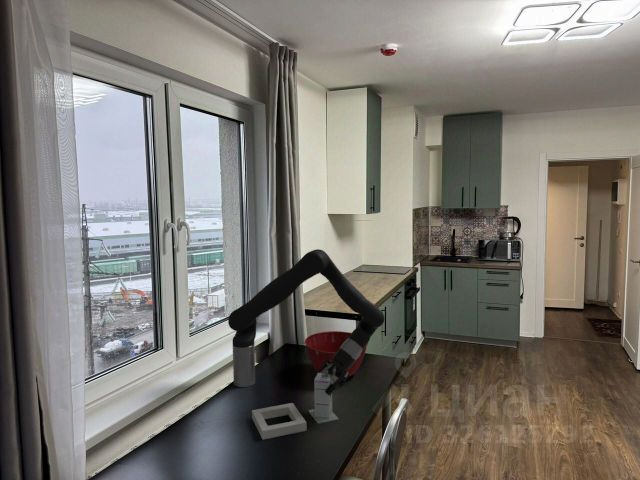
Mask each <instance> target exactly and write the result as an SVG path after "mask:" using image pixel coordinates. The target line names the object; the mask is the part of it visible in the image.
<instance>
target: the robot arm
mask: <svg viewBox="0 0 640 480" xmlns="http://www.w3.org/2000/svg"><path fill="white" fill-rule="evenodd" d="M319 274H320V275H321V276H322V277H324V278H326V280H327V281H328V282H329V283H330V284H331V286H333V289H334V290H335V291H336V293H337V295H338V297H339V298H340V299H341V300H342V301H343V303H345V305H347V307H349V309H350V310H352V311H353V312H354V313H357V314H358V315H359V316H360V317H361V318H362V319H361V320H360V321H359V323H358V324H357V326H356V327H355V329H353V331H352V332H350V333H351V335H350V336H349V337H348V339H347V340H346V341H345V342H344V343H343V344H342V345H341V347H340V348H339V349H338V351H337V352H336V353H335V355H334V356H333V358H334V360H333V361H332V362H331V361H330V360H329V359H327V360H326V361H325V362H324V364H323V365H322V366H321V367H320V369H319V370H318V371H319V373H328V374H330V375H332V378H333V379H332V384H330V385H329V387H328V388H327V389H326V391H325V393H326V394H328V395H330V394H331V393H332V394H333V392H334V391H335V389H336V388H340V389H342V387H343V386H344V384H345V383H346V382H347V380H348V379H349V377H351V376H350V374H349V373H348V372H347V371H346V369H348V370H349V369H350V368H351V366H352V365H353V363H354V362H355V361H356V359H357V358H358V357H359V355H360V354H361V352H362V350H363V349H364V347H365V346H366V345H367V343H368V344H369V342H370V340H371V337H372V336H373V335H374V333H375V332H376V331H377V329H379V328H380V327H381V326H383V324H384V323H385V315H384V313H383V312H382V310H381V309H380V308H379V307H378V306H376V305H375V304H374V303H372V302H371V301H370V300H369V299H367V298H366V297H365V296H364V295H363V294H362V292H361V291H360V290H358V288H356V287H355V286H354V285H353V284H352V283H351V282H350V281H349V280H348V278H347V277H346V276H345V275H344V274H343V272H342V271H341V270H340V269H339V268H338V267H337V266H336V264H335V263H334V261H333V260H332V258H331V257H330V256H329V255H328V253H327V252H325V250H323V249H320V248H319V249H313V250H310V251H308V252H307V253H305V254H304V255H303V256H302V257H300V259H299V260H298V261H297V262H296V263H295V264H294V265H293V266H292V267H291V268H289V269H288V270H286V271H285V272H283V273H282V274H280V275H278V276H277V277H276V278H274V279H272V281H270V282H269V283H268V284H267V285H264V287H263V288H262V289H261V290H259V291H258V292H257V293H256V294H255V295H254V296H253V297H252V298H251V299H250V300H249V301H247V302H246V303H244V304H242V305H241V306H239V307H238V308H236V309H234V310H233V311H231V313H230V314H229V315H228V320H227V323H228V326H229V328H230V329H232V331H235V334H234V335H233V338H232V340H231V341H232V369H233V370H232V372H233V373H232V374H233V377H232V378H233V385H234V386H235V387H238V388H246V387H247V388H249V387H251V386H253V385H255V384H256V361H255V360H256V357H255V356H256V355H255V353H256V352H255V347H256V346H255V339H256V337H257V336H256V335H257V318H258V317H260V316H261V315H263V314H264V313H266V312H269V311H270V310H272V309H273V308H275V307H277V306H279V305H280V304H281V303H282V302H284V301H285V300H287V299H288V298H289V297H290V296H291V295H293V294H294V292H295V291H296V290H297V289H298V287H300V285H302V284H303V283H305V282H306V281H308V280H309V279H311V278H313V277H314V276H316V275H319ZM367 346H368V345H367ZM323 368H324V370H323V371H322V369H323Z"/></svg>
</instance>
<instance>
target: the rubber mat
mask: <svg viewBox="0 0 640 480" xmlns="http://www.w3.org/2000/svg"><path fill="white" fill-rule="evenodd" d="M307 411H308V413H309V414H310V415H311V417H312V418H313V419H314V421H315V422H316V424H317V425H319V424H324V423H329V422H333V421H339V420H340V419H339V417H338V416H337V415H336V414H335V412H333V411H332V413H331V416H330V418H322V417H315V408H313V409H308V410H307Z"/></svg>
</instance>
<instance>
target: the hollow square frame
mask: <svg viewBox="0 0 640 480" xmlns="http://www.w3.org/2000/svg"><path fill="white" fill-rule="evenodd" d="M284 416H288V417H289V418H290V420H291V421H289V422H288V421H287V422H283V423H282V422H281V423H277V424H276V423H275V424H272V425H271V424H270V425H268V424H267V422H266V420H267V419H274V418H277V417H284ZM251 419H252V421H253V423H254V424H255V427H256V429H257V431H258V433H259V435H260V437H261V439H262V441H264V440H269V439H273V438H279V437H281V436H283V437H284V436H286V435H291V434H297V433H302V432H307V430H308V429H307V428H308V427H307V424H308V423H307V421H306V420H305V418H304V417H303V415H302V414H301V413H300V411H299V409H298V408H297V407H296V405H295V404H294V403H293V402H291V403H290V402H289V403H285V404H279V405H273V406H269V407H268V406H267V407H264V408H258V409H253V410H251Z"/></svg>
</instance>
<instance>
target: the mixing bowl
mask: <svg viewBox="0 0 640 480" xmlns="http://www.w3.org/2000/svg"><path fill="white" fill-rule="evenodd" d="M351 333H352V332H349V331H341V330H340V331H337V330H334V331H333V330H331V331H321V332H316V333H313V334H311V335H309V336H307V337H305V340H304V344H305V347H306V350H307V354H308V356H309V359H310V362H311V364H312V367H313V369H315V371H316V372H317V374H318V373H319V371H318V370H319V369H320V367H321V366H322V365H323V364H324V362H325V361H326V360H327V359H329V360H330V361H331V362H332V361H333V360H334V358H333V356H334V355H335V353H336V352H337V351H338V349H339V348H340V347H341V345H342V344H343V343H344V342H345V341H346V340H347V339H348V337H349V336H350V335H351ZM368 346H369V342H368V343H367V345H366V346H365V347H364V349H363V350H362V352H361V354H360V355H359V357H358V358H357V359H356V361H355V362H354V363H353V365H352V366H351V368H350V369H349V370H348V369H346V371H347V372H348V373H349V374H350V376H349V377H351V376H353V375H354V374H356V372H357V371H358V370H359V367H360V366H361V364H362V362H363V359H364V357H365V354H366V351H367V347H368ZM323 370H324V368H323V369H322V371H323ZM332 380H333V378H332Z"/></svg>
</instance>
